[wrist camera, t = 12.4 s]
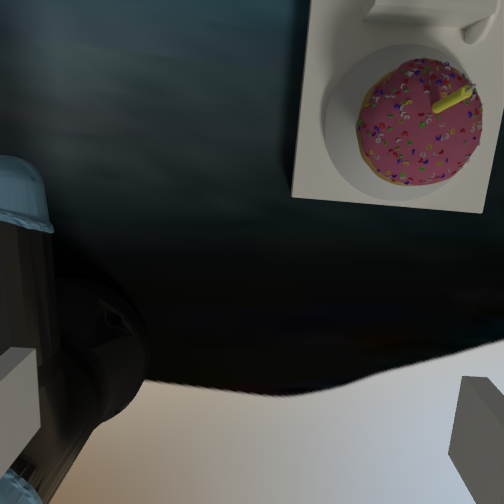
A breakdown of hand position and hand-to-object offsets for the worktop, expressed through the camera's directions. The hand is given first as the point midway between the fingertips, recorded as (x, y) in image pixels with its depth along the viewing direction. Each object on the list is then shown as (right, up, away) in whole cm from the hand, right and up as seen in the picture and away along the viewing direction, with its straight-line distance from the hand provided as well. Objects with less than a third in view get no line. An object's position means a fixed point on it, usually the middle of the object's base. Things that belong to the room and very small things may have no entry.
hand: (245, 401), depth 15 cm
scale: (+12, +17, +26) cm, 34 cm away
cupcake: (+12, +15, +23) cm, 30 cm away
